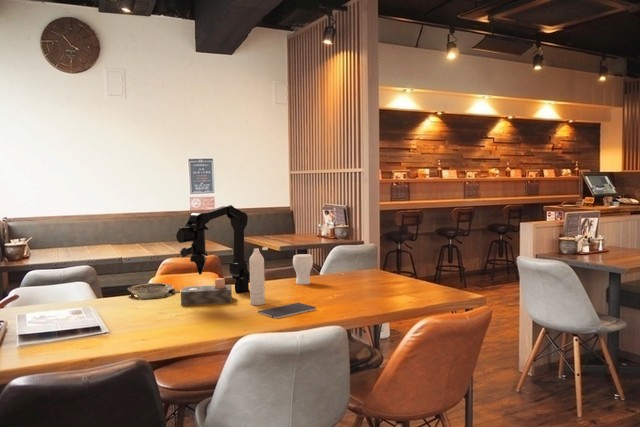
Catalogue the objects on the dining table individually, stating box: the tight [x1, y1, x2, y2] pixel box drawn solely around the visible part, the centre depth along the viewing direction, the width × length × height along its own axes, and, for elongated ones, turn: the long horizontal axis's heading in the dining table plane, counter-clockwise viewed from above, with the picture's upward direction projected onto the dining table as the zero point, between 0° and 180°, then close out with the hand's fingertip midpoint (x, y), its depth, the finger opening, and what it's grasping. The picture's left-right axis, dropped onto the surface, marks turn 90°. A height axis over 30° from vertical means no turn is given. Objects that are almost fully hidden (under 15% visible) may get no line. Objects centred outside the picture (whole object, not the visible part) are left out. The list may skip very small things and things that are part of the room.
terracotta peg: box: [214, 277, 226, 289], centre depth 245 cm, size 4×4×6 cm
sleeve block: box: [180, 284, 233, 306], centre depth 245 cm, size 22×12×6 cm, turn 98°
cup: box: [292, 253, 314, 286], centre depth 283 cm, size 11×11×15 cm
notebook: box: [257, 302, 317, 320], centre depth 223 cm, size 13×2×21 cm
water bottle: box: [248, 246, 269, 306], centre depth 238 cm, size 9×6×25 cm
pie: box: [127, 282, 181, 301], centre depth 264 cm, size 28×27×5 cm
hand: (200, 274), depth 244 cm, fingers closed
